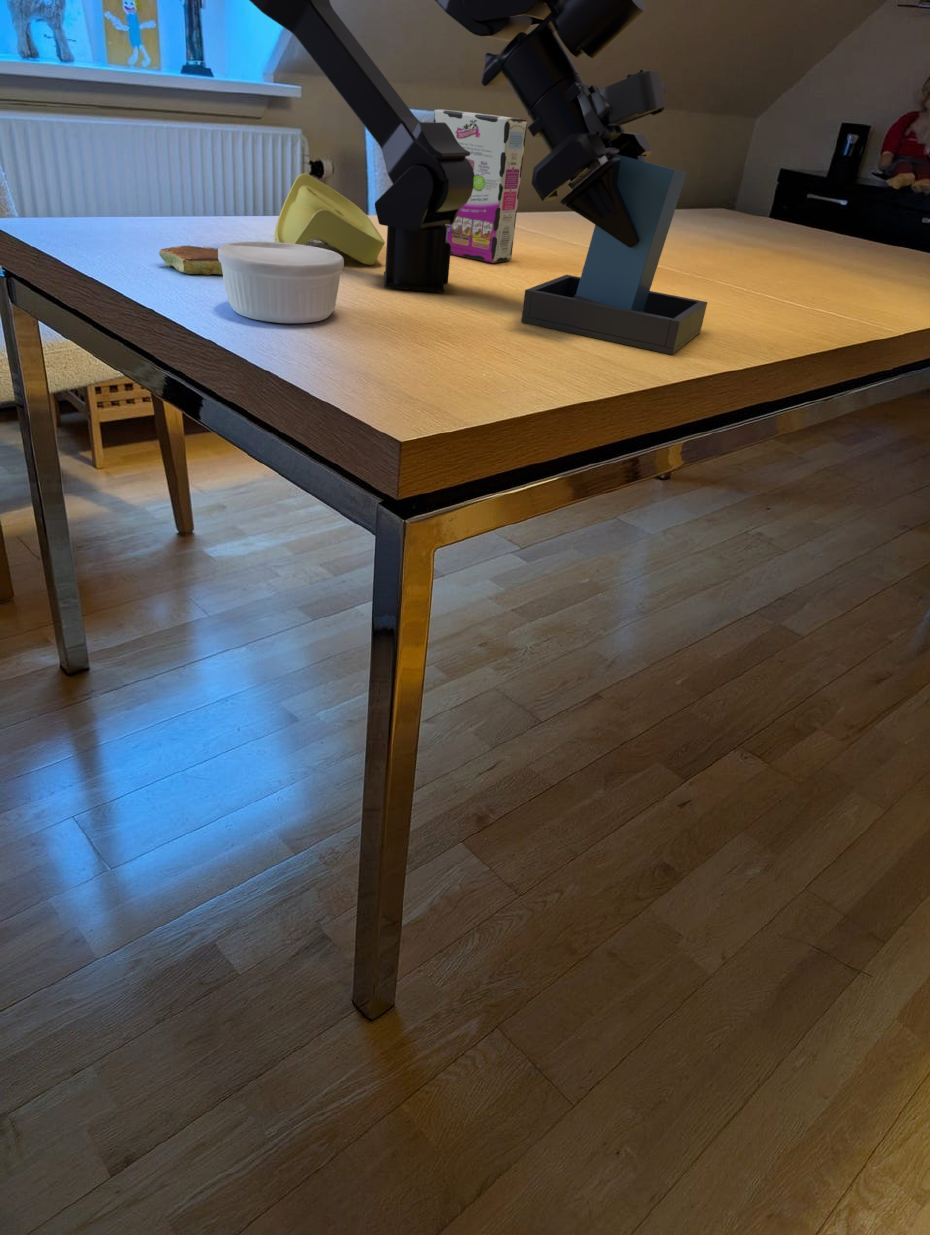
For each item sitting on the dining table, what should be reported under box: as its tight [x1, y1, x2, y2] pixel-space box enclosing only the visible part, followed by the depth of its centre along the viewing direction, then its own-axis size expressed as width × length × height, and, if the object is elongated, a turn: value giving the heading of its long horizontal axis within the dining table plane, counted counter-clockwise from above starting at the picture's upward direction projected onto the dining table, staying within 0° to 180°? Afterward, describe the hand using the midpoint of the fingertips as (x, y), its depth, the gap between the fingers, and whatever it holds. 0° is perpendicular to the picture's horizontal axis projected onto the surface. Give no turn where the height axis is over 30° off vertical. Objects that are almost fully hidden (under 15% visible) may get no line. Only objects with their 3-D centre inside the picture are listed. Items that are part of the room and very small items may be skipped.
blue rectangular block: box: [574, 154, 687, 312], centre depth 86 cm, size 6×4×14 cm
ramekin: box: [217, 240, 345, 324], centre depth 80 cm, size 11×11×5 cm
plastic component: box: [274, 173, 386, 266], centre depth 109 cm, size 20×7×10 cm
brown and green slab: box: [158, 245, 223, 276], centre depth 93 cm, size 11×8×2 cm
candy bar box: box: [433, 109, 528, 264], centre depth 113 cm, size 11×5×16 cm, turn 56°
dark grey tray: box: [520, 274, 708, 356], centre depth 89 cm, size 16×12×3 cm
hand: (641, 242), depth 85 cm, fingers closed on blue rectangular block, 4 cm apart
